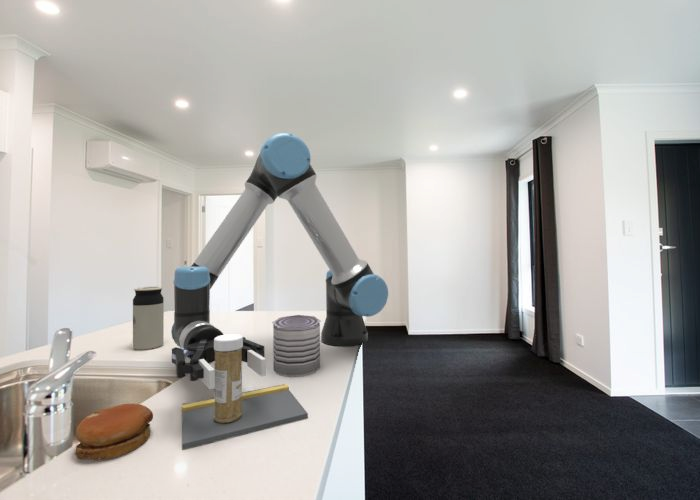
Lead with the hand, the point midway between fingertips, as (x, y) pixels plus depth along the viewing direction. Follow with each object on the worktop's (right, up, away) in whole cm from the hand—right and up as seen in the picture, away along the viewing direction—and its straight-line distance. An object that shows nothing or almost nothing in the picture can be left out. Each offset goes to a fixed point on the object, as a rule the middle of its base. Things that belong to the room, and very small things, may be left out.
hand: (239, 373), depth 50 cm
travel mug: (-44, -11, +49) cm, 67 cm away
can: (+4, -10, +29) cm, 31 cm away
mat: (-2, -10, +7) cm, 12 cm away
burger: (-18, -10, -2) cm, 21 cm away
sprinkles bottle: (-3, -9, +4) cm, 10 cm away
